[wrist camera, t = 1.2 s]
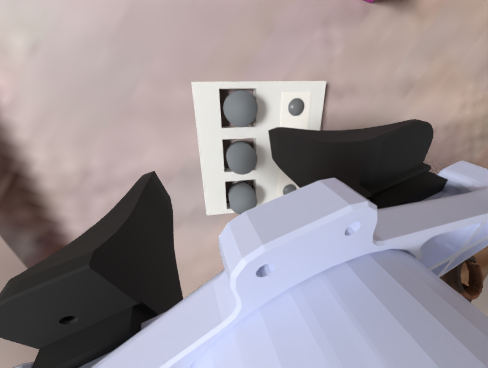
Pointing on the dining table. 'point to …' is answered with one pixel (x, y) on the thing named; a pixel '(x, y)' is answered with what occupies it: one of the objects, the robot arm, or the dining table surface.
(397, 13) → the dining table surface
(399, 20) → the dining table surface
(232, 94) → the near button
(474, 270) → the pottery mug
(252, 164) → the middle button
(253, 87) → the button board
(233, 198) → the far button
